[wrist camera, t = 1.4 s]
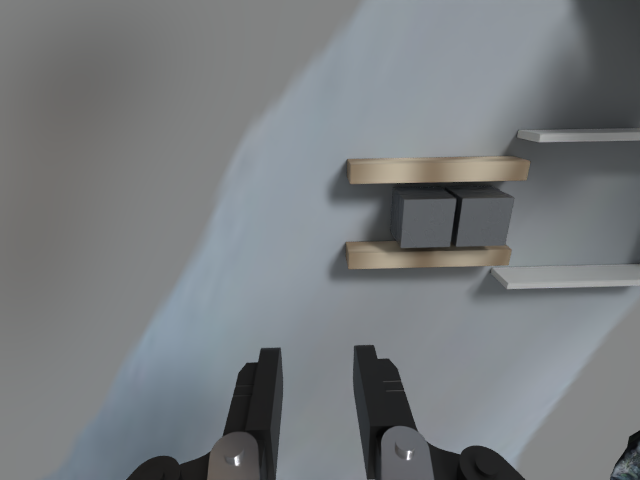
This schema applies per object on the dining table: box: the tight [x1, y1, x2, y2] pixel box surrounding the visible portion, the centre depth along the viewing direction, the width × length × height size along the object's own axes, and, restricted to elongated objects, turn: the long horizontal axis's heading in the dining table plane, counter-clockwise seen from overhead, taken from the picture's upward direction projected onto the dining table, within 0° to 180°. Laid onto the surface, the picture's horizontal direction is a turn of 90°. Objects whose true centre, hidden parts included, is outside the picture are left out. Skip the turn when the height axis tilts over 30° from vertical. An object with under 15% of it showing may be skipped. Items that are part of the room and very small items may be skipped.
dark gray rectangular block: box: [390, 187, 456, 248], centre depth 30 cm, size 4×4×4 cm
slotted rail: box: [346, 156, 531, 269], centre depth 30 cm, size 14×9×2 cm, turn 91°
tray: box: [491, 128, 640, 289], centre depth 30 cm, size 16×13×3 cm
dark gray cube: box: [444, 186, 514, 247], centre depth 30 cm, size 4×4×4 cm
